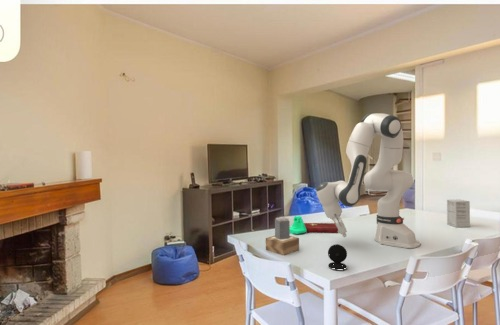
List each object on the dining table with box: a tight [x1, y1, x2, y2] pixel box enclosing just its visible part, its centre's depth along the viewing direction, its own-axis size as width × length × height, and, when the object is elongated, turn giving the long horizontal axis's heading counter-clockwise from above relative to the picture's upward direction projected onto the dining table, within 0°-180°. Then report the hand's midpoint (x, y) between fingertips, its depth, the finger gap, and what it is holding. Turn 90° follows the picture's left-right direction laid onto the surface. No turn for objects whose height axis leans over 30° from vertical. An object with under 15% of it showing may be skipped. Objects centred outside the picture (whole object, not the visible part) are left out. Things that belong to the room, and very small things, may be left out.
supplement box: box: [446, 198, 471, 228], centre depth 199 cm, size 10×9×17 cm
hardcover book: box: [304, 222, 339, 234], centre depth 192 cm, size 12×21×4 cm, turn 83°
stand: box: [265, 235, 300, 256], centre depth 154 cm, size 12×12×6 cm
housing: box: [274, 216, 291, 240], centre depth 154 cm, size 6×6×10 cm
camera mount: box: [290, 215, 307, 235], centre depth 188 cm, size 12×8×10 cm, turn 34°
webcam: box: [327, 243, 348, 269], centre depth 128 cm, size 8×8×10 cm
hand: (342, 231), depth 164 cm, fingers open, 8 cm apart
